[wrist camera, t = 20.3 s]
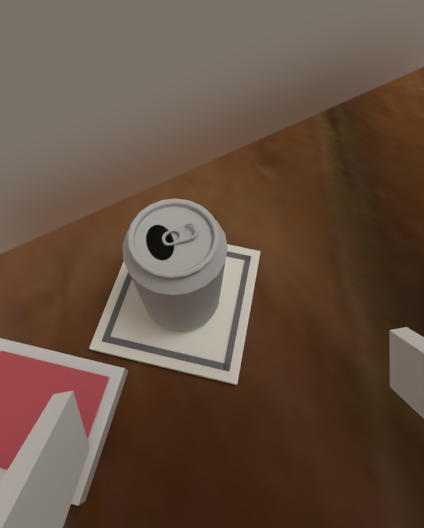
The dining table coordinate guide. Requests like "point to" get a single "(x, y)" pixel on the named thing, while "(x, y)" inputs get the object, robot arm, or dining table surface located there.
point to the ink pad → (40, 392)
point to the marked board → (187, 342)
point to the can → (176, 262)
